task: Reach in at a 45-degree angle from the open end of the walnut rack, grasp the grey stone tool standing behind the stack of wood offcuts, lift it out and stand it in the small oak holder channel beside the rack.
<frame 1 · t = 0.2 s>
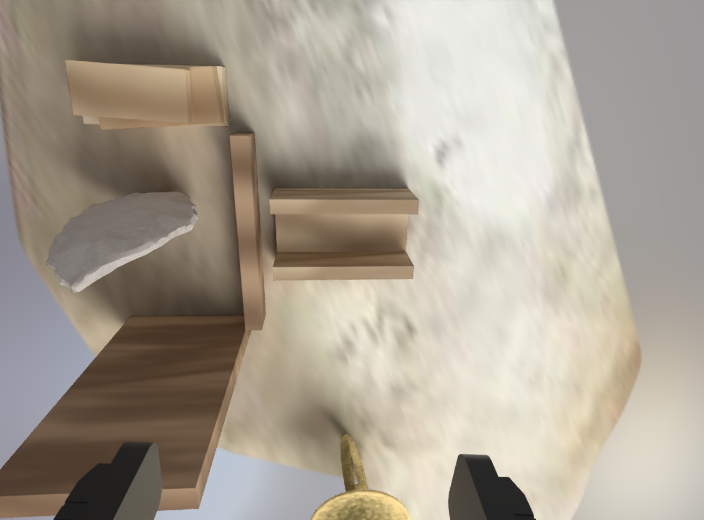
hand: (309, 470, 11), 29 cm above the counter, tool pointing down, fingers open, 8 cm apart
holder: (342, 225, 40), on the counter
rack: (191, 322, 42), on the counter
offcut stack: (158, 95, 35), on the counter
stone tool: (162, 203, 38), on the counter
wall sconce: (356, 454, 50), on the counter
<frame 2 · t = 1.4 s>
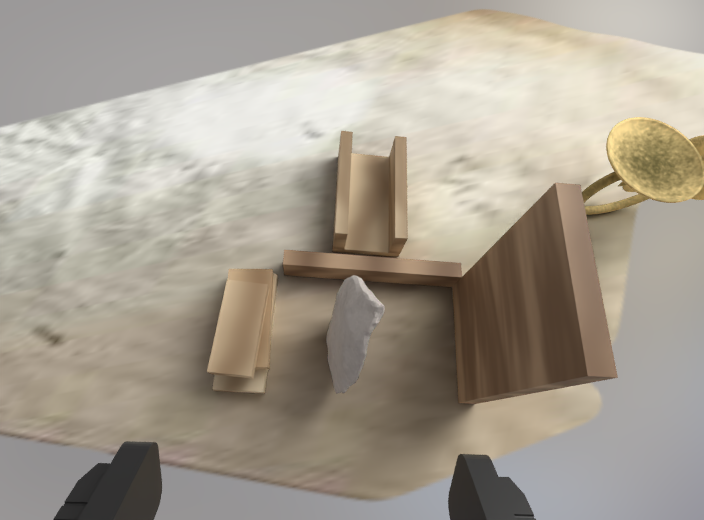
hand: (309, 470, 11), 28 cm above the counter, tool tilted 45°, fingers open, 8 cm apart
holder: (367, 204, 47), on the counter
rack: (463, 342, 42), on the counter
offcut stack: (248, 332, 41), on the counter
stone tool: (341, 348, 41), on the counter
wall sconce: (602, 210, 50), on the counter
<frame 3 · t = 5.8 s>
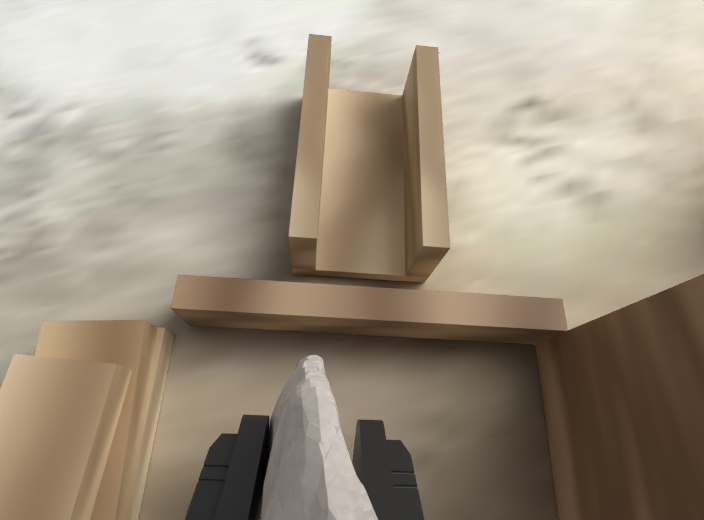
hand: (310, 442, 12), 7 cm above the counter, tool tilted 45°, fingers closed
holder: (361, 181, 25), on the counter
rack: (568, 468, 20), on the counter
offcut stack: (96, 459, 18), on the counter
stone tool: (306, 491, 19), on the counter, touching gripper
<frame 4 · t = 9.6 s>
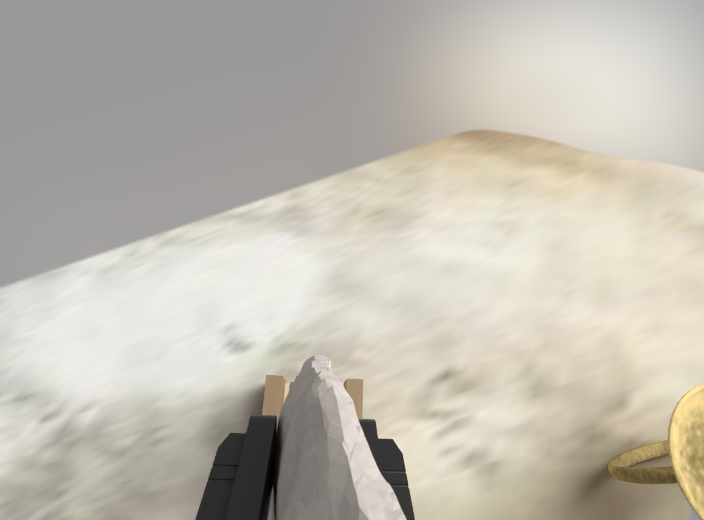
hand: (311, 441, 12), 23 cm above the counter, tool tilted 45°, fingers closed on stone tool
holder: (309, 465, 33), on the counter
stone tool: (305, 491, 19), point 15 cm above the counter, touching gripper
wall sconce: (646, 449, 36), on the counter
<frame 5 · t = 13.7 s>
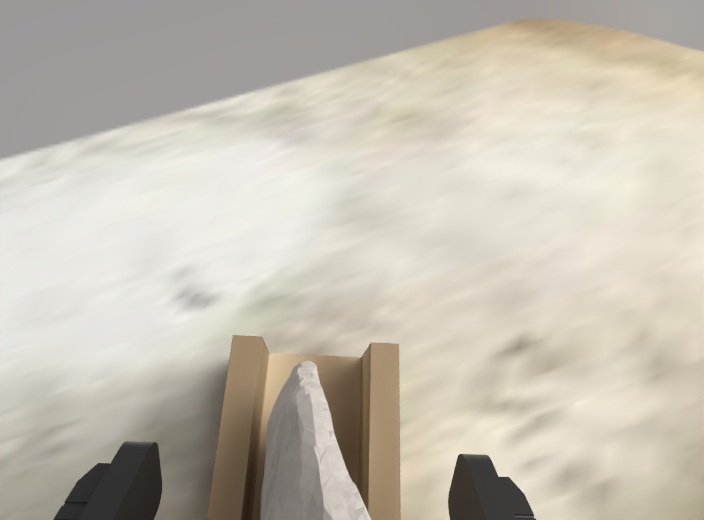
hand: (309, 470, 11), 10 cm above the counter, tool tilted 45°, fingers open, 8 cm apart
holder: (306, 488, 20), on the counter
stone tool: (303, 492, 19), point 1 cm above the counter, touching holder
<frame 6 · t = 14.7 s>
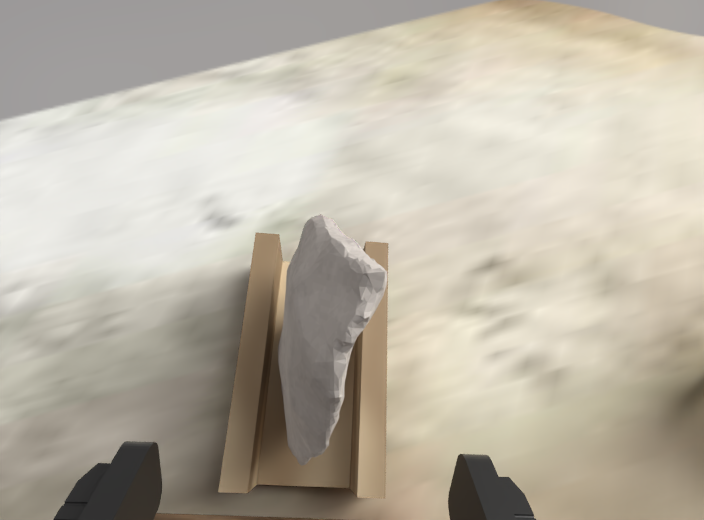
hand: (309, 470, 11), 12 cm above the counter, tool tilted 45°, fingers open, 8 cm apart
holder: (312, 366, 24), on the counter
stone tool: (310, 366, 24), point 1 cm above the counter, touching holder
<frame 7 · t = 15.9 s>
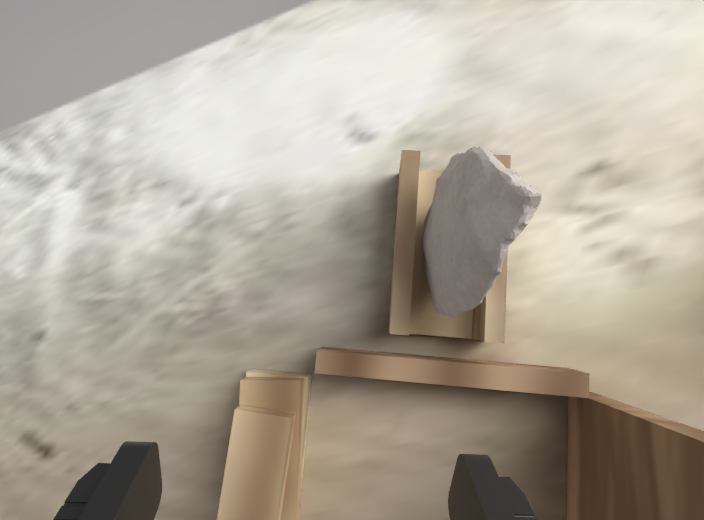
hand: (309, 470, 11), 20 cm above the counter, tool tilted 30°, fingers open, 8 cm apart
holder: (441, 253, 32), on the counter
rack: (579, 478, 29), on the counter
offcut stack: (274, 450, 30), on the counter
stone tool: (440, 253, 31), point 1 cm above the counter, touching holder
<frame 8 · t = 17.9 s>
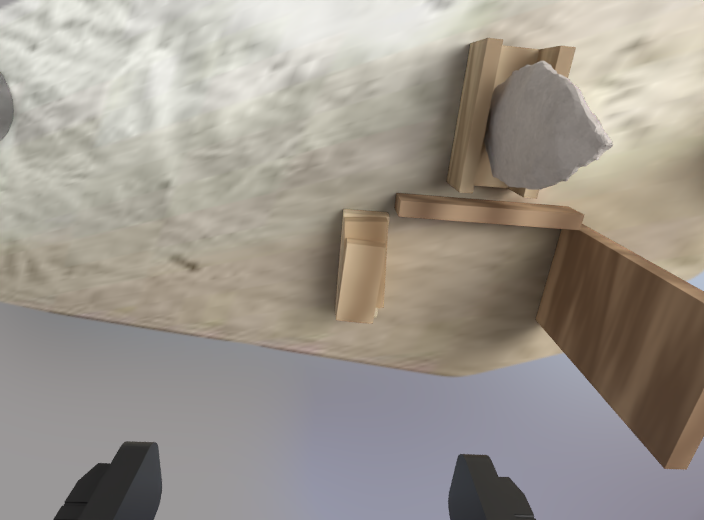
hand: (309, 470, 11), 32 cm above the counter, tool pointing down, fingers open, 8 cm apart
holder: (494, 119, 39), on the counter
rack: (556, 273, 45), on the counter
offcut stack: (360, 262, 44), on the counter
stone tool: (495, 121, 39), point 1 cm above the counter, touching holder
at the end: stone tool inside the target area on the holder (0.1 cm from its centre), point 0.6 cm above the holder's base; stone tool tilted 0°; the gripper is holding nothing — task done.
